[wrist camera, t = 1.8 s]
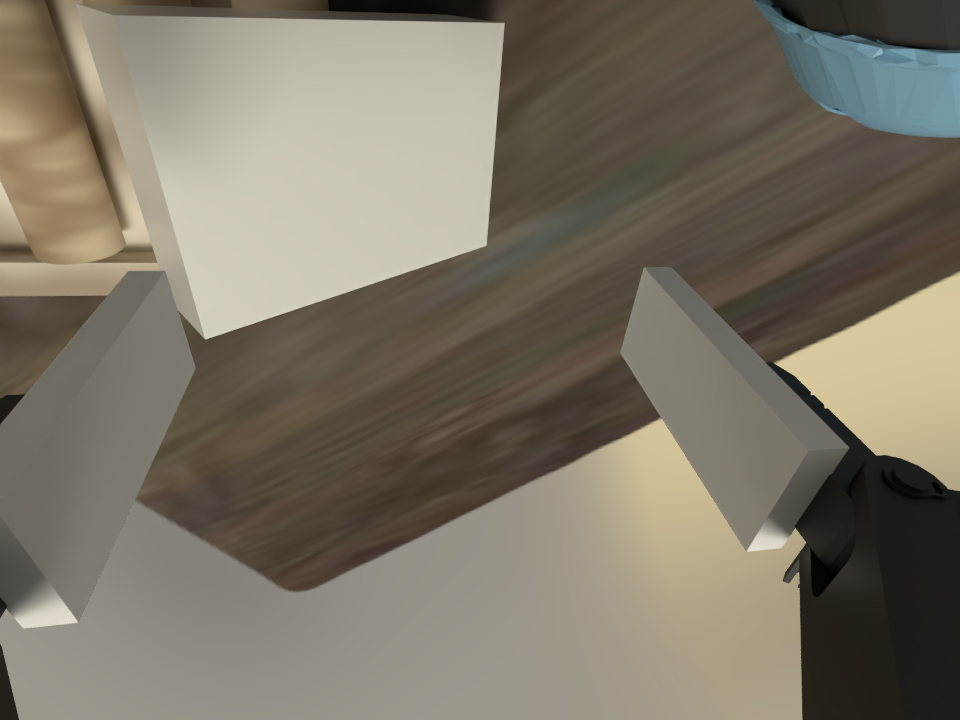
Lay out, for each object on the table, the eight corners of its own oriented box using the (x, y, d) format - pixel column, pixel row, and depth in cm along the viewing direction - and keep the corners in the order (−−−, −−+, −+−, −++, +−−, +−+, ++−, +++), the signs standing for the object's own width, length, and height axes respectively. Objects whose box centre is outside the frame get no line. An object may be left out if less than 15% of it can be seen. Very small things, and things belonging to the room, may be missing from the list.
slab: (75, 3, 17) (113, 15, 15) (447, 14, 27) (504, 23, 24) (169, 300, 23) (205, 339, 21) (441, 223, 33) (486, 245, 31)
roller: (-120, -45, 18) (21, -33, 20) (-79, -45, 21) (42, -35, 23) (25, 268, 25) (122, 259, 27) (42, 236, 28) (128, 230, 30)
